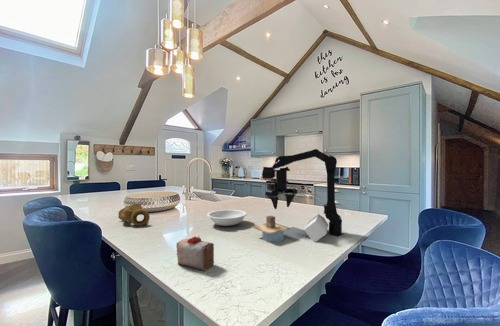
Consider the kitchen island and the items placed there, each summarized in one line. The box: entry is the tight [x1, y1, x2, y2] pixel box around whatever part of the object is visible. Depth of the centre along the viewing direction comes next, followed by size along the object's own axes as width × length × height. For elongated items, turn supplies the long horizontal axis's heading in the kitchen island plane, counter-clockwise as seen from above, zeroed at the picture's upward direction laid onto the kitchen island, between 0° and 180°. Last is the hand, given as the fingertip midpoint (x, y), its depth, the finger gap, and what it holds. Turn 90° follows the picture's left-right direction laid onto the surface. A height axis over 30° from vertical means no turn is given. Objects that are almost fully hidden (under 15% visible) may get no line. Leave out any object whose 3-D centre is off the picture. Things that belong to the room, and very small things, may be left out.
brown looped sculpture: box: [117, 203, 151, 227], centre depth 140 cm, size 18×13×22 cm
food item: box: [175, 235, 215, 271], centre depth 81 cm, size 14×8×10 cm, turn 64°
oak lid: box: [251, 215, 291, 234], centre depth 108 cm, size 13×13×6 cm
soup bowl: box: [206, 209, 248, 227], centre depth 134 cm, size 24×24×7 cm
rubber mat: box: [284, 226, 309, 241], centre depth 115 cm, size 16×16×1 cm
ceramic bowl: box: [261, 231, 285, 243], centre depth 107 cm, size 10×10×5 cm
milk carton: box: [303, 213, 329, 243], centre depth 110 cm, size 7×7×19 cm
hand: (281, 207), depth 122 cm, fingers open, 9 cm apart
